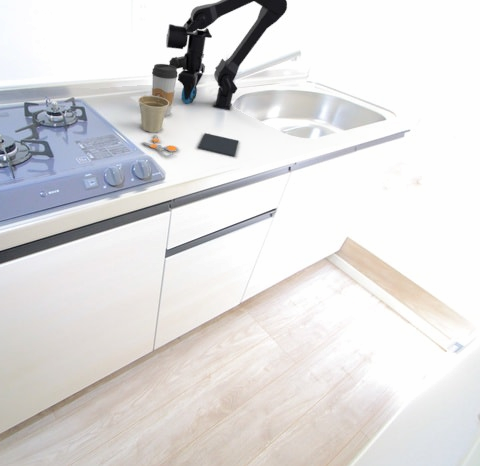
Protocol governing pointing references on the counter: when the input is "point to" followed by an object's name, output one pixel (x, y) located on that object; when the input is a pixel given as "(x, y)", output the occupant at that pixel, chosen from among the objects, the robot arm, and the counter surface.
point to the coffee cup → (164, 83)
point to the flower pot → (152, 112)
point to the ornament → (190, 96)
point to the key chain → (169, 148)
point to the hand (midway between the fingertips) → (188, 96)
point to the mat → (218, 144)
